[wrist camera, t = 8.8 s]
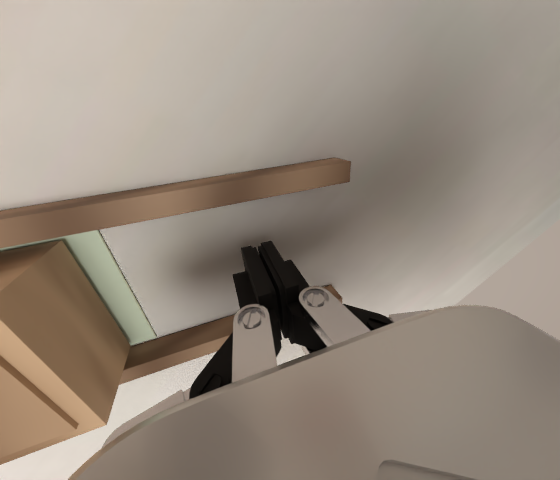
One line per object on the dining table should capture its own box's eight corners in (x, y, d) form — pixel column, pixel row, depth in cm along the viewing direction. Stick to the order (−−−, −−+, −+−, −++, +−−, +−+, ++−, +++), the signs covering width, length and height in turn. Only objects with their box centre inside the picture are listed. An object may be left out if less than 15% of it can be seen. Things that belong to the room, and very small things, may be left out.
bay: (334, 157, 12) (356, 162, 10) (330, 294, 17) (345, 313, 15) (-342, 264, 7) (-524, 311, 5) (-63, 421, 11) (-107, 472, 10)
